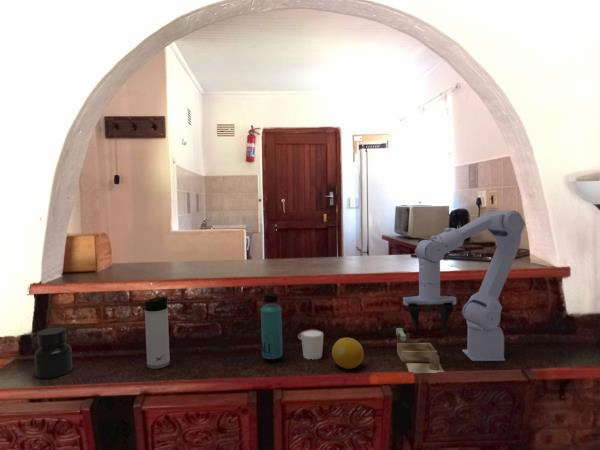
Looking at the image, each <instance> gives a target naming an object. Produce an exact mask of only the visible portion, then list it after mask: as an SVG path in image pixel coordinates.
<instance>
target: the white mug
mask: <svg viewBox="0 0 600 450" xmlns="http://www.w3.org/2000/svg"><path fill="white" fill-rule="evenodd" d="M324 335H325V334H324V332H323V331H320V330H315V329H309V330H305V331H302V332H301V333H300V338H301V345H302V355H303V358H304V359H306V360H310V359H312V360H313V361H315V360H319V359H322V357H323V348H324V347H323V346H324ZM314 359H315V360H314Z"/></svg>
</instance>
